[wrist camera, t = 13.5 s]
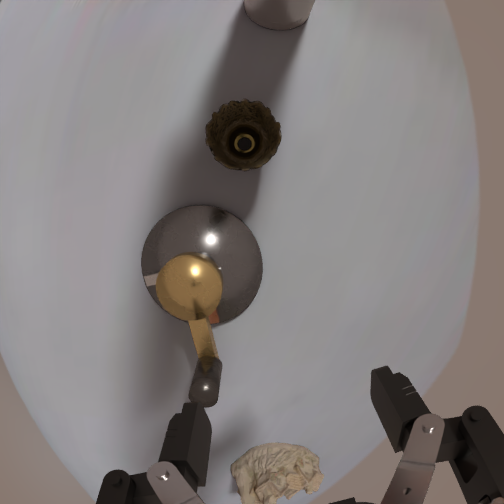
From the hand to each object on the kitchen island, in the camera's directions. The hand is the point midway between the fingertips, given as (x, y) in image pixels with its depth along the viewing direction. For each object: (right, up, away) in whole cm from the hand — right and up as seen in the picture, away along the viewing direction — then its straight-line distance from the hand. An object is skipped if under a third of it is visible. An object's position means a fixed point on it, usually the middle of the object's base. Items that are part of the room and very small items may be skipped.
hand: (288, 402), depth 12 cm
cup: (-3, +20, +23) cm, 31 cm away
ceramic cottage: (+3, -37, +37) cm, 52 cm away
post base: (-8, +5, +26) cm, 28 cm away
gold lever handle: (-8, 0, +21) cm, 22 cm away
